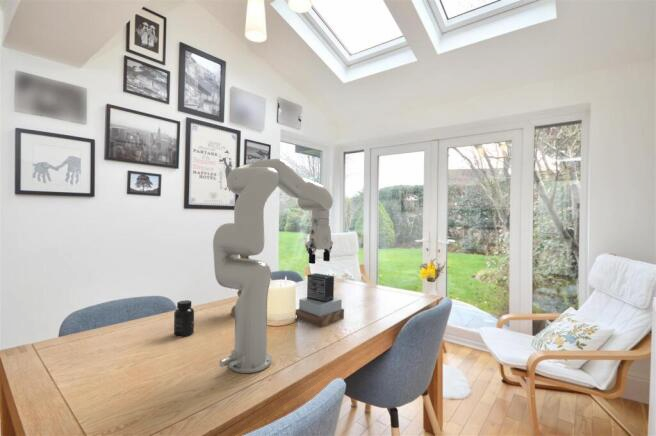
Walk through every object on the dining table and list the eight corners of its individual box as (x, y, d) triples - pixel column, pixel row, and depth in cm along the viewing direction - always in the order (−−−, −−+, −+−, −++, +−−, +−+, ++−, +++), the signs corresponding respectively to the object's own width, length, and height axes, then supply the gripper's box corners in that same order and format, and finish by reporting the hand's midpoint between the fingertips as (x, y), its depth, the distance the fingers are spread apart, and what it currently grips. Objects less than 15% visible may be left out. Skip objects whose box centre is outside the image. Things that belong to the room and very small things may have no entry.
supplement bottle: (197, 333, 117) (197, 302, 116) (178, 339, 112) (178, 305, 111) (189, 328, 121) (189, 298, 121) (170, 333, 116) (171, 301, 116)
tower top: (320, 316, 127) (320, 305, 127) (299, 309, 135) (299, 299, 135) (341, 309, 136) (341, 299, 136) (320, 303, 145) (320, 293, 145)
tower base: (321, 328, 126) (322, 317, 126) (295, 320, 135) (295, 309, 135) (343, 319, 137) (343, 309, 137) (318, 311, 147) (318, 302, 147)
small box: (334, 299, 136) (335, 275, 136) (325, 303, 130) (326, 278, 130) (315, 295, 142) (316, 272, 142) (306, 298, 137) (306, 274, 137)
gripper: (313, 223, 126) (312, 265, 126) (339, 222, 139) (338, 261, 139) (300, 222, 130) (299, 263, 130) (326, 222, 144) (325, 259, 144)
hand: (319, 262), depth 135 cm, fingers open, 9 cm apart
